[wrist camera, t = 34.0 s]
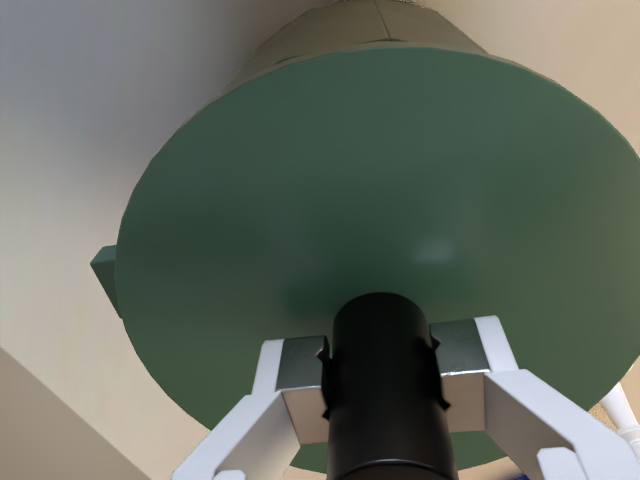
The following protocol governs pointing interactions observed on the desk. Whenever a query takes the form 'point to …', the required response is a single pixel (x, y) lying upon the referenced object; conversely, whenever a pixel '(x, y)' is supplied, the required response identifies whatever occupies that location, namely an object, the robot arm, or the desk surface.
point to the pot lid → (384, 243)
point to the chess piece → (622, 417)
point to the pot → (318, 34)
